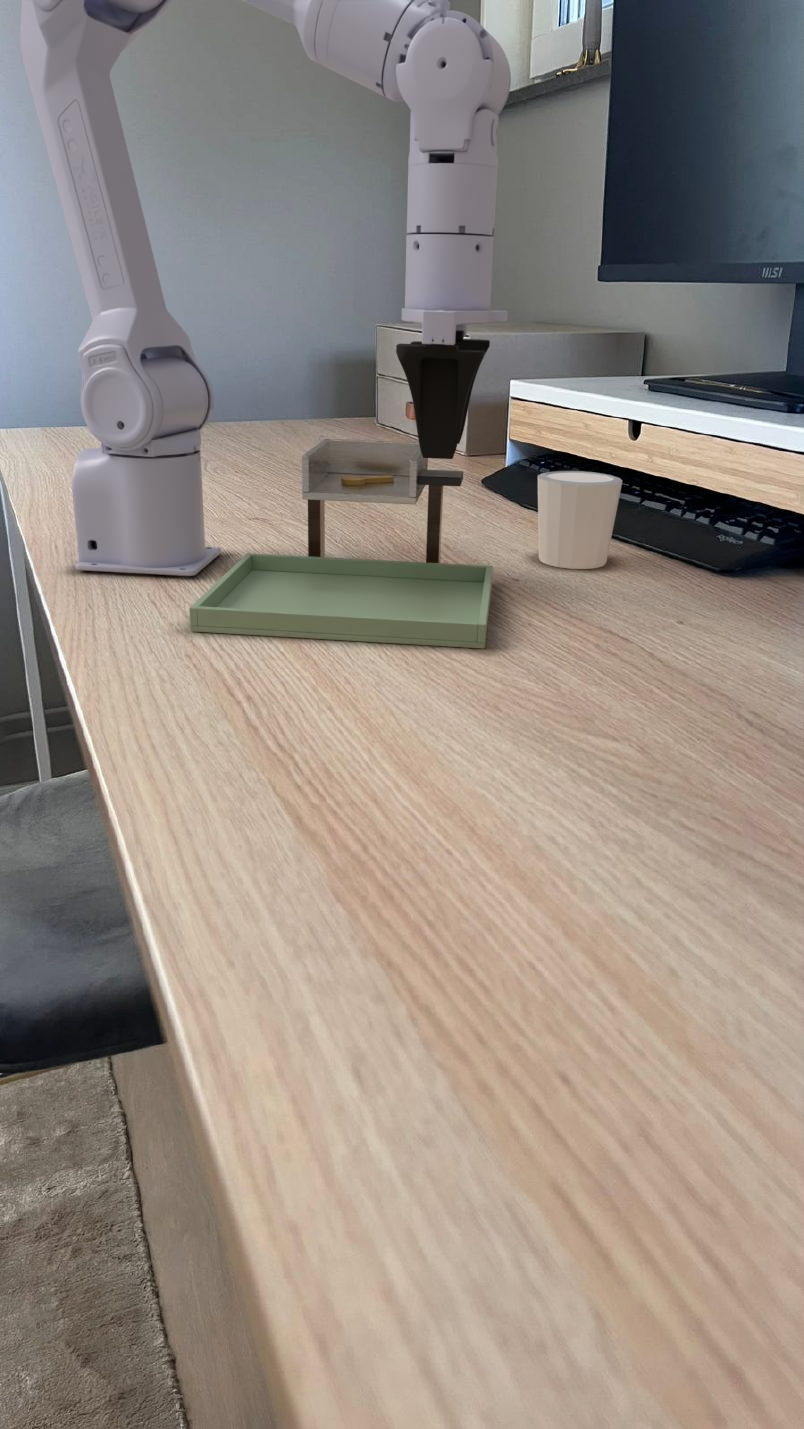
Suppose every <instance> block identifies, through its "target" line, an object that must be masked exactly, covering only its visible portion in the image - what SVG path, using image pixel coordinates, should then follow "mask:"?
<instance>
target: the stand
mask: <svg viewBox="0 0 804 1429" xmlns="http://www.w3.org/2000/svg"><path fill="white" fill-rule="evenodd" d="M427 490H428V491H427V492H428V494H427V517H426V518H427V519H426V520H427V521H426V545H425V546H426V550H425V551H426V552H425V562H426V563H441V554H442V553H441V551H442V550H441V548H442V528H443V526H442V525H443V502H444V486H438V485H428V488H427ZM325 502H326V500H307V556H310V557H326V534H325V532H326V529H325V528H326V526H325V524H326V518H325V515H326V513H325V511H326V510H325V509H326V508H325V507H326V506H325V505H326V504H325Z"/></svg>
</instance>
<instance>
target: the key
mask: <svg viewBox="0 0 804 1429" xmlns="http://www.w3.org/2000/svg"><path fill="white" fill-rule="evenodd" d="M386 482H394V477H393V476H391V475H388V476H367V477H361V476H344V477H342V478H341V483H342V484H344V485H364V484H366V483H386Z"/></svg>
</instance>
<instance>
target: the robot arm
mask: <svg viewBox="0 0 804 1429" xmlns="http://www.w3.org/2000/svg"><path fill="white" fill-rule="evenodd" d="M173 1H174V0H21V10H20V13H21V14H20V29H19V30H20V33H19V46H20V52H21V57H22V62H23V66H24V69H25V73H26V77H27V81H28V85H29V89H30V92H31V95H32V99H33V103H34V107H35V112H36V114H37V118H38V122H39V125H40V130H41V133H42V134H41V135H42V137H43V141H44V145H45V149H46V152H47V156H48V160H49V163H50V167H51V170H52V175H53V178H54V179H53V180H54V182H55V185H56V189H57V193H58V197H59V201H60V205H61V208H62V212H63V216H64V220H65V223H66V229H67V231H68V234H69V238H70V243H71V246H72V250H73V254H74V258H75V261H76V265H77V269H78V273H79V276H80V280H81V283H82V284H81V285H82V287H83V291H84V295H85V298H86V302H87V306H88V310H89V314H90V317H91V324H90V326H89V328H88V330H87V332H86V334H85V335H84V337H83V340H82V341H81V343H80V345H79V347H78V350H77V357H78V360H79V364H80V370H81V378H82V381H81V389H80V399H79V400H80V401H79V402H80V410H81V414H82V418H83V420H84V423H85V425H86V426H87V428H88V430H89V431H90V433H91V434H92V435H93V436H94V438H95V439H96V440H98V442H99V443H100V448H97V447H91V448H90V447H89V448H85V449H82V450H81V451H80V452H79V453H78V455H77V456H76V458H75V461H74V464H73V469H72V477H71V478H72V479H71V488H72V489H71V493H72V503H73V512H74V523H75V534H76V535H75V536H76V544H77V555H78V561H77V562H76V563H75V570H77V571H89V572H105V573H106V572H107V573H122V574H123V573H125V574H142V575H143V574H144V575H159V576H160V575H163V576H181V577H193V576H196V575H198V573H199V572H201V571H203V569H204V568H206V567H207V566H208V565H209V564H210V563H212V561H214V560H215V559H216V558H217V557H218V556H219V555H221V554H222V548H221V547H218V546H206V537H205V533H206V532H205V515H204V514H205V513H204V512H205V511H204V494H203V474H202V472H203V471H202V452H201V445H202V438H201V436H202V435H201V431H202V430H203V429H204V428H205V427H206V426H207V425H208V424H209V421H210V420H211V418H212V415H213V412H214V407H215V394H214V393H215V392H214V389H213V385H212V382H211V380H210V378H209V376H208V375H207V372H206V371H205V370H204V368H203V367H202V366H201V365H200V363H199V361H198V360H197V358H196V356H195V354H194V352H193V348H192V344H191V343H192V342H191V340H190V337H189V334H188V333H187V332H186V331H185V330H184V328H183V327H182V326H181V325H180V324H179V322H178V321H177V320H176V318H174V317H173V315H172V314H171V313H170V312H169V310H168V309H167V306H166V301H165V298H164V293H163V289H162V286H161V281H160V277H159V273H158V269H157V265H156V261H155V256H154V253H153V249H152V244H151V241H150V237H149V232H148V228H147V224H146V219H145V215H144V211H143V208H142V207H143V206H142V203H141V200H140V195H139V191H138V187H137V183H136V179H135V175H134V171H133V166H132V162H131V158H130V154H129V150H128V146H127V142H126V137H125V134H124V130H123V125H122V121H121V117H120V114H119V109H118V104H117V100H116V97H115V92H114V88H113V83H112V81H111V80H112V79H111V71H112V69H113V67H114V65H115V63H116V62H117V60H118V58H119V57H120V55H121V53H122V52H123V51H125V49H126V48H127V47H128V46H129V45H131V43H133V42H134V41H135V40H136V39H137V38H138V37H139V36H140V35H141V34H142V33H143V32H144V31H145V30H146V29H147V28H148V27H149V26H150V25H151V24H153V22H155V21H156V20H157V18H158V17H160V16H161V15H162V14H163V13H164V12H165V11H166V9H168V7H169V6H170V4H171V3H172V2H173ZM239 1H240V2H242V3H245V4H247V5H249V6H251V7H254V8H255V9H258V10H260V11H262V12H264V13H267V14H269V15H271V16H273V17H276V18H277V19H280V20H282V21H284V22H287V23H289V24H291V25H293V26H295V28H296V30H297V32H298V35H299V39H300V41H301V43H302V47H303V50H304V52H305V54H306V57H307V58H309V60H311V61H312V62H314V63H315V64H318V65H320V66H322V67H324V68H326V69H328V70H330V71H332V72H334V73H336V74H338V75H339V76H343V77H344V78H346V79H348V80H350V81H352V82H354V83H356V84H358V85H360V86H362V87H364V88H366V89H368V90H370V91H372V92H374V93H376V94H378V95H380V96H382V97H384V98H386V99H388V100H390V101H391V102H395V103H400V102H405V104H406V105H407V107H408V108H409V110H410V115H409V116H410V118H409V122H410V123H409V124H410V125H409V153H408V156H407V157H408V159H407V200H406V201H407V202H406V203H407V205H406V206H407V207H406V238H405V241H406V242H405V244H406V245H405V278H404V280H405V281H404V282H405V283H404V287H405V288H404V307H402V308H401V317H400V318H401V321H403V322H407V323H413V324H420V325H421V324H422V325H421V326H422V327H421V328H422V329H421V341H417V340H416V341H411V342H410V343H398V344H396V345H395V346H396V347H395V353H396V357H397V359H398V361H399V364H400V365H401V368H402V370H403V372H404V375H405V378H406V381H407V384H408V386H409V391H410V395H411V399H412V404H413V410H414V417H415V426H416V432H417V439H418V443H419V445H420V450H421V454H422V457H423V458H428V459H437V460H438V459H439V460H440V459H441V460H454V456H455V454H456V451H457V449H458V448H457V447H458V445H459V444H460V443H461V440H462V438H463V433H464V430H465V426H466V422H467V415H468V411H469V406H470V401H471V395H472V392H473V387H474V383H475V380H476V378H477V374H478V372H479V370H480V367H481V364H482V362H483V360H484V358H485V355H486V354H487V352H488V350H489V348H490V346H491V340H489V339H479V338H478V339H477V338H476V339H475V338H464V337H466V336H467V333H468V325H488V324H489V325H490V324H492V323H493V322H496V323H497V322H498V323H500V322H501V323H503V322H504V323H505V322H508V310H503V309H502V310H499V309H491V301H492V283H493V282H492V281H493V265H494V263H493V262H494V249H495V248H494V247H495V246H494V245H495V229H496V228H495V226H496V209H497V207H496V206H497V192H498V191H497V190H498V189H497V188H498V170H499V157H498V139H499V120H500V119H499V118H500V116H499V115H500V114H501V112H502V111H503V110H504V107H505V106H506V103H507V101H508V99H509V95H510V90H511V83H512V82H511V81H512V78H511V77H512V76H511V67H510V64H509V60H508V58H507V55H506V53H505V51H504V49H503V47H502V45H501V44H500V43H499V41H497V39H496V38H495V37H494V36H492V34H491V33H490V32H489V31H488V30H487V29H486V28H485V27H484V26H482V24H480V22H478V20H476V19H475V18H474V17H473V16H471V15H469V14H467V13H464V12H462V11H458V10H450V8H451V2H450V1H449V0H239Z"/></svg>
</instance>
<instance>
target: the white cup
mask: <svg viewBox="0 0 804 1429" xmlns="http://www.w3.org/2000/svg"><path fill="white" fill-rule="evenodd" d="M622 485H623V480H622V479H621V478H620V477H619V476H615V475H612V474H606V473H600V472H595V471H594V472H593V471H583V470H557V471H556V470H555V471H548V472H542V473H540V474H538V475H537V523H538V524H537V526H538V527H537V528H538V530H537V531H538V533H537V534H538V535H537V536H538V538H537V539H538V559H539V562H540V563H543V564H545V565H547V566H551V567H555V568H562V569H568V570H569V569H570V570H590V569H598V568H601V567H604V566H605V565H606V564H607V561H608V556H609V551H610V547H611V541H612V538H613V537H612V536H613V531H614V526H615V521H616V516H617V511H618V507H619V500H620V495H621V490H622Z"/></svg>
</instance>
